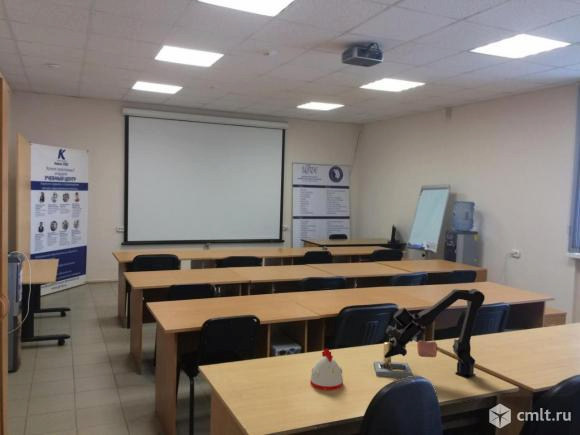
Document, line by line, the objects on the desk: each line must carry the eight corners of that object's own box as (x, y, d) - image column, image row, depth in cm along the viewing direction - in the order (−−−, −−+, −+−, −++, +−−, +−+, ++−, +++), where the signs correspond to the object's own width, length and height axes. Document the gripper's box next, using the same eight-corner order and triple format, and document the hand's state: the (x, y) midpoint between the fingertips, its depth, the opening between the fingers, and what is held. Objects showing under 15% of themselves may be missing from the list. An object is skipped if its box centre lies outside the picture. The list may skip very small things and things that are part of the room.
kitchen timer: (319, 392, 186) (320, 356, 185) (305, 380, 198) (305, 346, 198) (348, 387, 191) (349, 352, 191) (333, 375, 204) (333, 342, 203)
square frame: (407, 367, 216) (407, 362, 216) (412, 377, 203) (412, 372, 203) (373, 365, 217) (373, 361, 217) (376, 375, 204) (376, 371, 204)
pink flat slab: (417, 341, 257) (417, 339, 257) (436, 343, 254) (436, 340, 254) (416, 356, 232) (416, 353, 232) (436, 359, 229) (436, 355, 229)
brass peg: (394, 370, 211) (394, 342, 211) (390, 373, 207) (391, 345, 206) (383, 368, 214) (384, 340, 213) (380, 371, 209) (380, 343, 209)
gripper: (393, 315, 218) (370, 337, 220) (399, 326, 200) (374, 349, 201) (410, 332, 218) (386, 353, 219) (417, 344, 199) (391, 368, 201)
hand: (384, 355), depth 210 cm, fingers closed on brass peg, 3 cm apart
